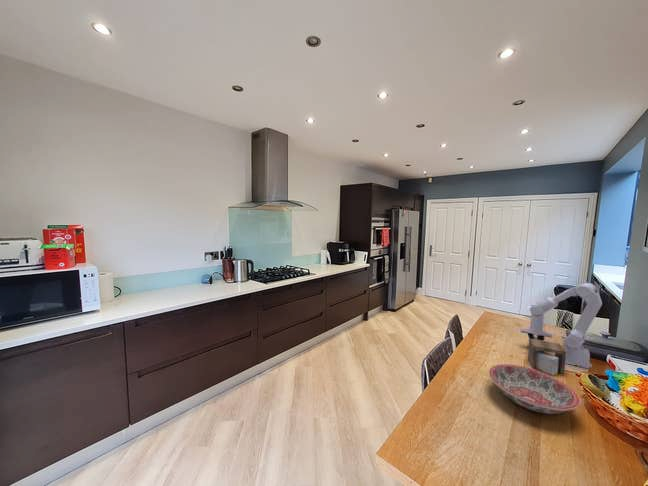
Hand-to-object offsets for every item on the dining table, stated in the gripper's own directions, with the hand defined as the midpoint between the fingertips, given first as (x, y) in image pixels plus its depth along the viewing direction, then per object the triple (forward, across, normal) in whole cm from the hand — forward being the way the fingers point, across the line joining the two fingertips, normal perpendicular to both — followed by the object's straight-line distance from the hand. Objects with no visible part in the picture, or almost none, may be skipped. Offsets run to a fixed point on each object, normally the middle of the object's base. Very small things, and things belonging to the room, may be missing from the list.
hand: (534, 346), depth 150 cm
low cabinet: (+2, 0, +21) cm, 21 cm away
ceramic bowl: (+2, +13, +58) cm, 60 cm away
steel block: (+2, +1, +9) cm, 9 cm away
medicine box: (+2, +1, +26) cm, 26 cm away
